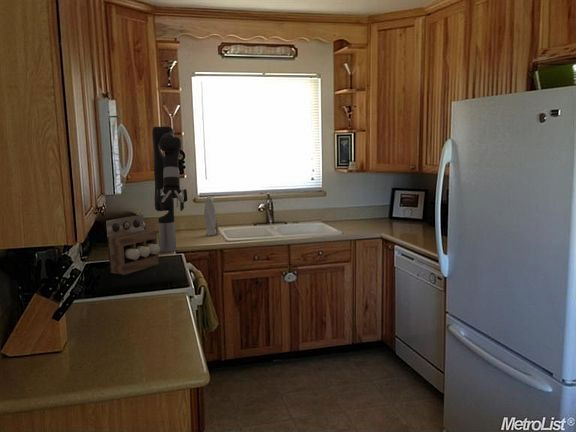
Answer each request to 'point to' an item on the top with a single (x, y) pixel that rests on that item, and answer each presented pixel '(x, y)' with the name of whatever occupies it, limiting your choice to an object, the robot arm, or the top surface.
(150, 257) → the brown toy oven
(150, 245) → the button right
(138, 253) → the button left
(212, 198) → the skyscraper
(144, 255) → the button middle
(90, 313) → the top surface
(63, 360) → the top surface
